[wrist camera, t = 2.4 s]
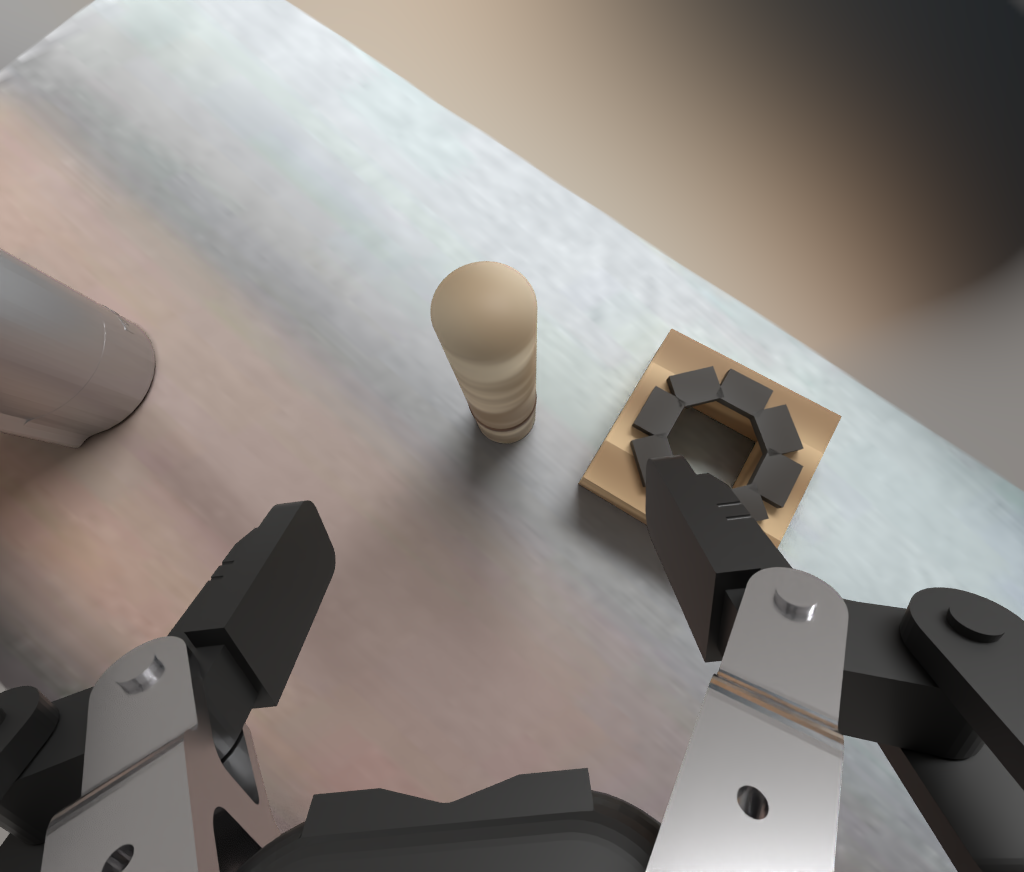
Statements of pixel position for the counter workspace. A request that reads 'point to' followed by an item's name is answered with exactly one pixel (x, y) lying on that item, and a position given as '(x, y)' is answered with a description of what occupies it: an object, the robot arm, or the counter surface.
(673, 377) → the socket
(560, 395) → the counter surface
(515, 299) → the dowel
